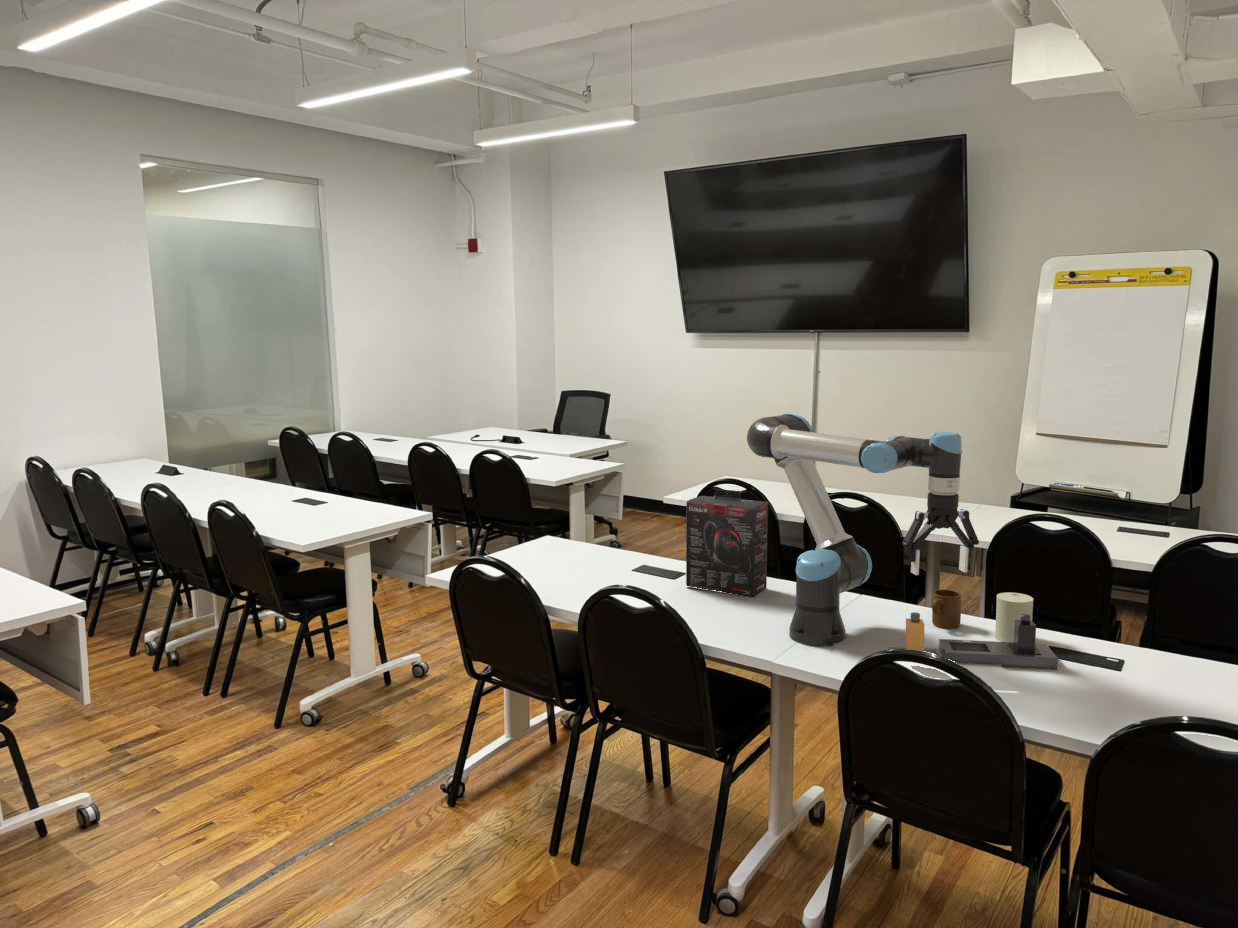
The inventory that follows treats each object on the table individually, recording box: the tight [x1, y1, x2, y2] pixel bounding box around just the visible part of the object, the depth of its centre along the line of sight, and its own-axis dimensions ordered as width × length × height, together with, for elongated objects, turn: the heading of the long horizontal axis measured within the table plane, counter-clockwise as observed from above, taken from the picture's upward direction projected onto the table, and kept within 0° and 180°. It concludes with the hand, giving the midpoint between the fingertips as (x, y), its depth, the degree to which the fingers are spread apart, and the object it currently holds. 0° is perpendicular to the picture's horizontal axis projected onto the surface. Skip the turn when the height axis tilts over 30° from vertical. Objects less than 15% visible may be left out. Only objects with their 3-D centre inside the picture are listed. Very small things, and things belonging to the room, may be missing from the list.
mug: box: [931, 589, 962, 630], centre depth 243 cm, size 12×8×9 cm, turn 135°
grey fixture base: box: [938, 614, 1059, 671], centre depth 217 cm, size 26×10×12 cm, turn 79°
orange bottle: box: [904, 611, 926, 651], centre depth 220 cm, size 4×4×11 cm
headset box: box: [685, 488, 769, 598], centre depth 282 cm, size 25×12×33 cm, turn 60°
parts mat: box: [887, 646, 939, 656], centre depth 221 cm, size 12×10×1 cm
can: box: [994, 591, 1034, 642], centre depth 232 cm, size 9×9×12 cm
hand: (938, 572), depth 224 cm, fingers open, 13 cm apart
